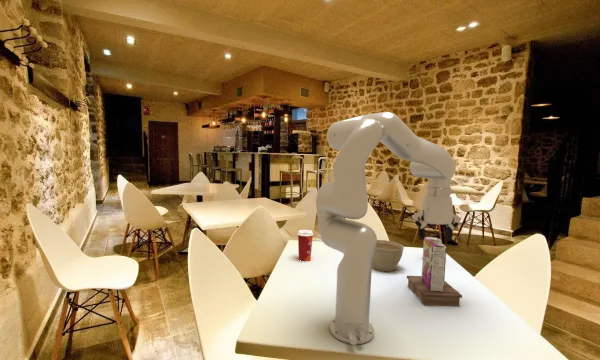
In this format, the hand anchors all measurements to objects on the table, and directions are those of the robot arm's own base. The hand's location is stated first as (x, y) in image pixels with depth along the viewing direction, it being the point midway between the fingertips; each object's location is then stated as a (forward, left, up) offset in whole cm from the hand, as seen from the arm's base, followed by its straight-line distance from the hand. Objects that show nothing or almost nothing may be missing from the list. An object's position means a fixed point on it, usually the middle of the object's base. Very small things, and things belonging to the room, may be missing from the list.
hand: (434, 239), depth 106 cm
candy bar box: (0, 0, -17) cm, 17 cm away
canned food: (+38, -17, -21) cm, 47 cm away
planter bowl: (+27, +10, -21) cm, 36 cm away
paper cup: (+35, +46, -21) cm, 61 cm away
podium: (0, 0, -21) cm, 21 cm away
